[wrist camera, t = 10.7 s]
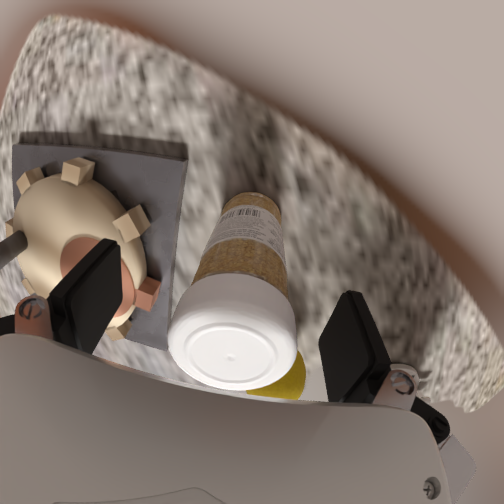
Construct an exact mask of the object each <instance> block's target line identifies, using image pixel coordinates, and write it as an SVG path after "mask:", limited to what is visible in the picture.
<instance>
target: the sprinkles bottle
mask: <svg viewBox="0 0 504 504" xmlns="http://www.w3.org/2000/svg"><path fill="white" fill-rule="evenodd" d="M167 340H168V346H169V350H170V353H171V355H172V357H173V359H174V360H175V362H176V363H177V364H178V366H179V367H180V368H181V369H182V370H184V371H185V372H186V373H187V374H189V375H190V376H191V377H193V378H194V379H196V380H198V381H200V382H202V383H205V384H207V385H210V386H213V387H217V388H221V389H227V390H250V389H256V388H261V387H264V386H267V385H269V384H271V383H273V382H275V381H277V380H279V379H280V378H281V377H283V376H284V375H285V374H286V373H287V372H288V371H289V370H290V368H291V367H292V365H293V363H294V361H295V359H296V355H297V331H296V322H295V315H294V312H293V309H292V307H291V305H290V302H289V299H288V290H287V270H286V261H285V253H284V244H283V235H282V229H281V214H280V212H279V209H278V207H277V205H276V204H275V203H274V202H273V201H272V200H271V199H270V198H269V197H267V196H265V195H263V194H260V193H257V192H247V193H246V192H245V193H241V194H239V195H236V196H234V197H233V198H231V200H230V201H229V202H228V203H226V205H225V207H224V208H223V211H222V214H221V217H220V219H219V220H218V222H217V224H216V226H215V228H214V231H213V233H212V235H211V237H210V239H209V241H208V243H207V245H206V248H205V250H204V252H203V254H202V257H201V261H200V265H199V268H198V270H197V272H196V274H195V277H194V280H193V282H192V284H191V286H190V287H189V288H188V289H187V290H186V291H185V293H184V294H183V295H182V297H181V298H180V301H179V303H178V305H177V308H176V310H175V312H174V315H173V318H172V320H171V323H170V327H169V330H168V335H167Z"/></svg>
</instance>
